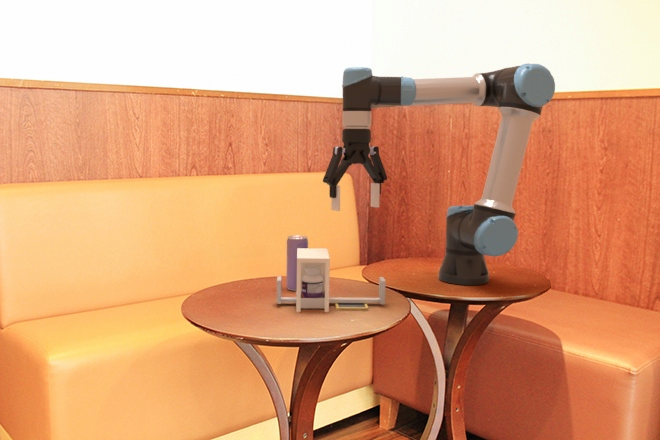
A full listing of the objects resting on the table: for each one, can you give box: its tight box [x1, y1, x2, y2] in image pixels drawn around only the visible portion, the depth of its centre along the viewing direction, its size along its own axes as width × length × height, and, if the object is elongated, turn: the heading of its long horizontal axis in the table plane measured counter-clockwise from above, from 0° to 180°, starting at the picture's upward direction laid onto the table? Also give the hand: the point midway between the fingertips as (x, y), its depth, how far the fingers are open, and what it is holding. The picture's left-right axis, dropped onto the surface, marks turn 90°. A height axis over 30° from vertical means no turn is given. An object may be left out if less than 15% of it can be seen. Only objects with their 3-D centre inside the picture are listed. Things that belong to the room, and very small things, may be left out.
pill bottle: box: [302, 266, 323, 298], centre depth 165 cm, size 5×5×10 cm
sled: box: [276, 275, 387, 309], centre depth 165 cm, size 28×8×7 cm, turn 93°
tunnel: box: [295, 247, 331, 313], centre depth 165 cm, size 8×14×14 cm, turn 3°
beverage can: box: [286, 234, 309, 292], centre depth 181 cm, size 6×6×15 cm
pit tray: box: [334, 303, 369, 311], centre depth 166 cm, size 8×10×1 cm
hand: (355, 208), depth 171 cm, fingers open, 13 cm apart
